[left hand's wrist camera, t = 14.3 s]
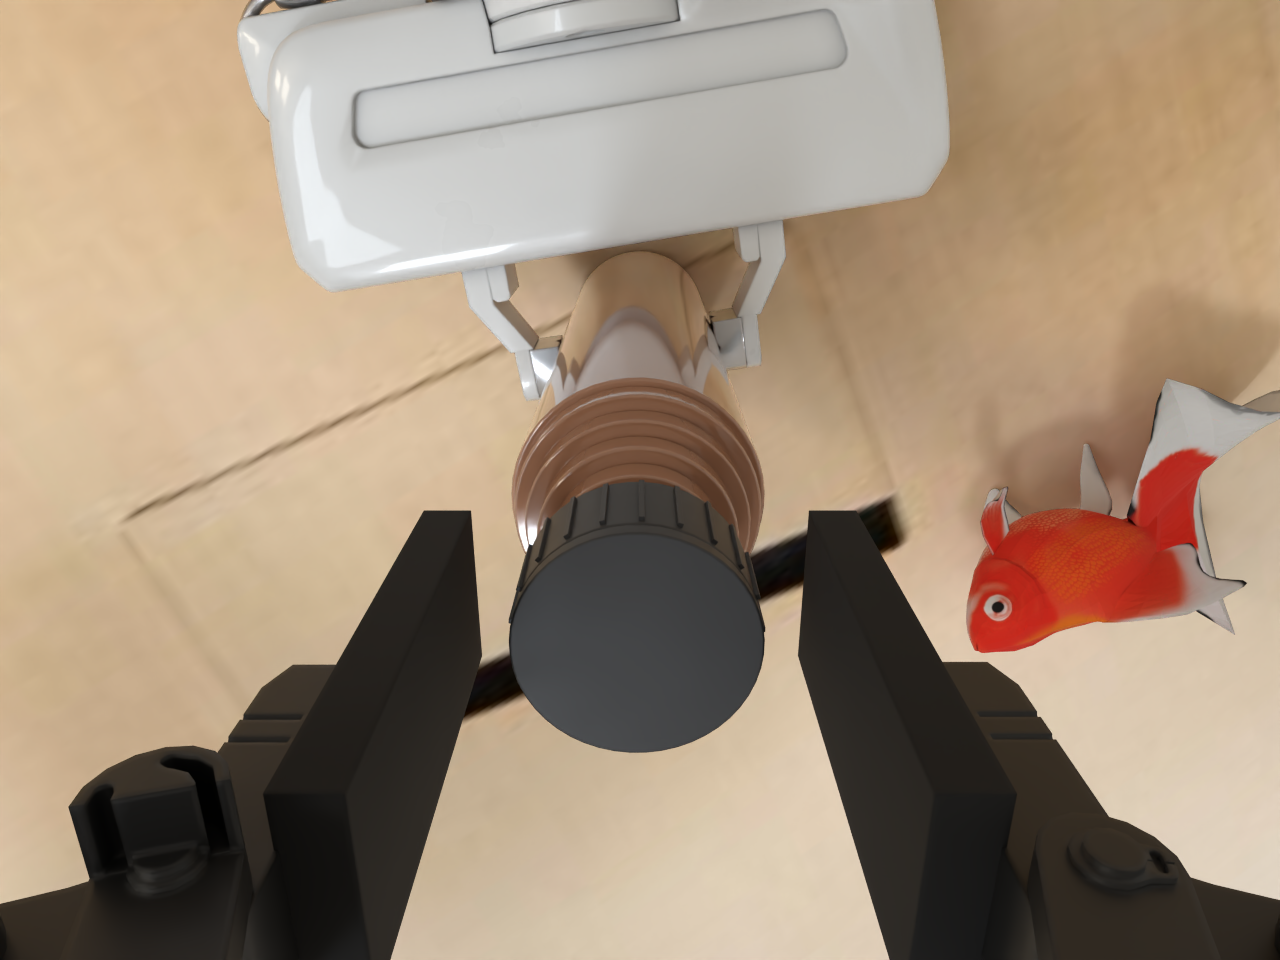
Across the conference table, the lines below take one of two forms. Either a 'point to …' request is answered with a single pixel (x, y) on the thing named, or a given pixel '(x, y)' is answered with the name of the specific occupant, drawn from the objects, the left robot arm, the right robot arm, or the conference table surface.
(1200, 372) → the conference table surface
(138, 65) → the conference table surface
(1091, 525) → the fish
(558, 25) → the right robot arm
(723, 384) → the bottle
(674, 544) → the cap
